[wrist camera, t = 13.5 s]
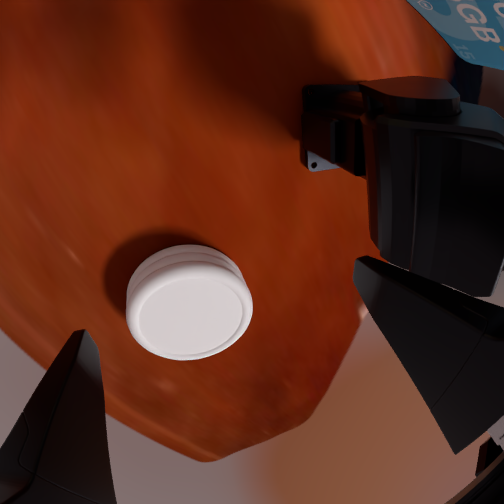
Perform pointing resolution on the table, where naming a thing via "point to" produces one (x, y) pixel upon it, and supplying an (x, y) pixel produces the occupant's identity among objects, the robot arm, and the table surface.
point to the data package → (468, 27)
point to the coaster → (187, 302)
